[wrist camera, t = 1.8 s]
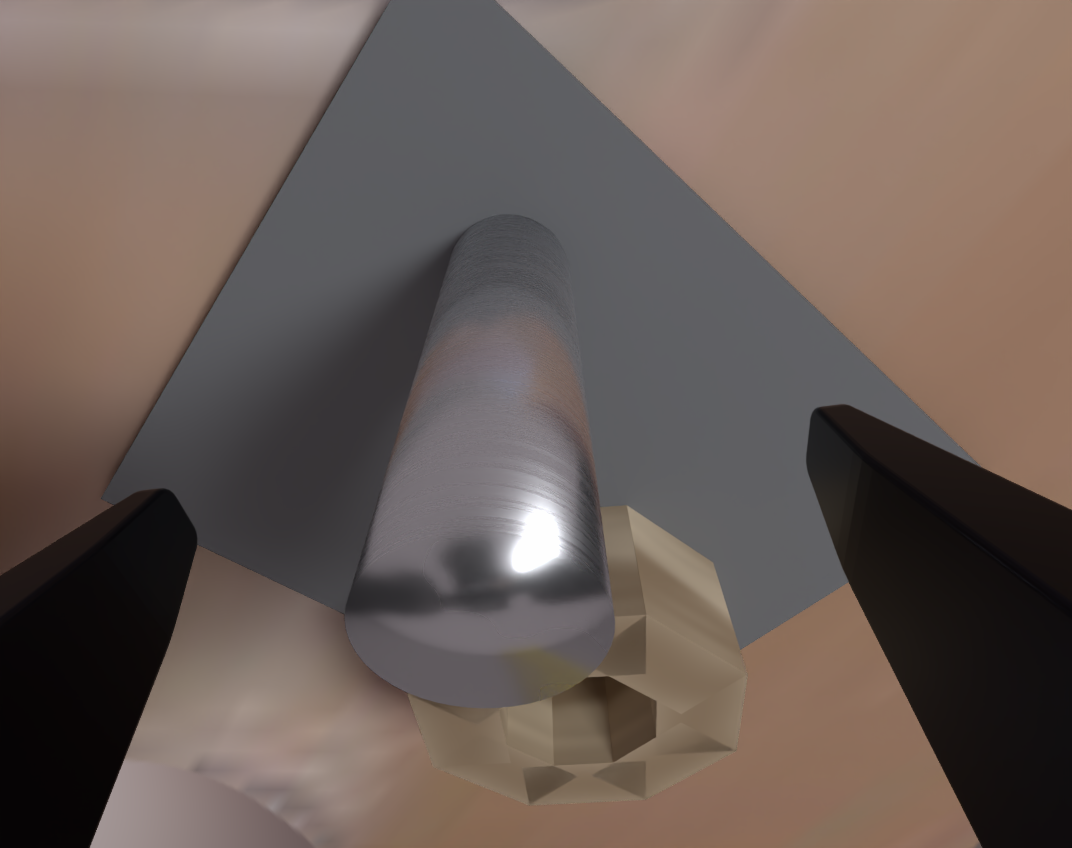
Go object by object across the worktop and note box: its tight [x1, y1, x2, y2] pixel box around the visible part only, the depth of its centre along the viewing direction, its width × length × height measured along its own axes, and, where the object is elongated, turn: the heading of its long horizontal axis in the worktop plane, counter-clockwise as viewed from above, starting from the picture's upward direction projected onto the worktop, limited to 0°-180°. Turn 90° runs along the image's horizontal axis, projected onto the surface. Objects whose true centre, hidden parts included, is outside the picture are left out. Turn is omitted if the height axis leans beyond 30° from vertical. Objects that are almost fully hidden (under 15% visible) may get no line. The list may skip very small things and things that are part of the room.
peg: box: [345, 214, 615, 708], centre depth 11 cm, size 3×3×10 cm
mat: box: [101, 0, 981, 650], centre depth 19 cm, size 20×17×1 cm
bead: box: [407, 505, 748, 805], centre depth 20 cm, size 9×9×4 cm
